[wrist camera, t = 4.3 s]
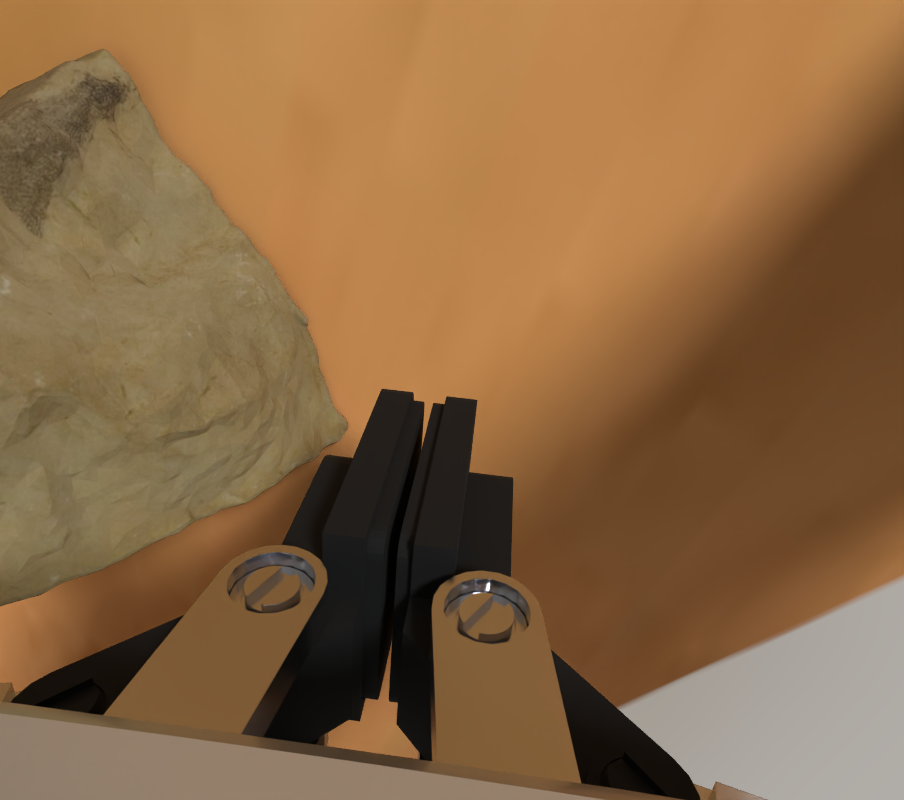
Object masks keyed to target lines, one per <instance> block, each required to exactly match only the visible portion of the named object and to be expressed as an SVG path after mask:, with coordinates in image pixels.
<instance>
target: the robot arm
mask: <svg viewBox="0 0 904 800" xmlns="http://www.w3.org/2000/svg"><path fill="white" fill-rule="evenodd" d="M476 407H477V400H473V399H465V398H456V397H448V396H447V397H446V401H445V404H438V403H433V407H432V411H431V414H430V418H429V422H428V426H427V430H426V434H425V438H424V442H423V446H422V433H423V419H424V402H421V401H414V394H413V392H405V391H397V390H388V389H382V390H381V392H380V394H379V396H378V399H377V401H376V404H375V406H374V409H373V411H372V413H371V416H370V418H369V421H368V423H367V426H366V428H365V430H364V433H363V435H362V438H361V440H360V443H359V445H358V447H357V450H356V452H355V455H354V457H353V458H348V457H340V456H332V455H327V456H325V457H324V459H323V460H322V462H321V464H320V467H319V469H318V471H317V473H316V475H315V477H314V479H313V481H312V483H311V485H310V487H309V489H308V491H307V493H306V496H305V498H304V500H303V502H302V504H301V506H300V508H299V510H298V512H297V514H296V516H295V518H294V520H293V522H292V524H291V527H290V529H289V531H288V533H287V535H286V537H285V539H284V541H283V543H282V545H271V546H262V547H259V548H255V549H252V550H248V551H246V552H244V553H242V554H241V555H239V556H237V557H235V558H233V559H232V560H231V561H230V562H229V563H228V564H227V565H226V566H224V567H223V568H222V569H221V571H220V572H219V573H218V574H217V576H216V577H215V578H214V579H213V581H212V582H211V583H210V584H209V585H208V587H207V588H206V589H205V590H204V592H203V593H202V594H201V595H200V597H199V598H198V599H197V600H196V601H195V603H194V604H193V605H192V606H191V608H190V609H189V610H188V611H187V612H186V614H185V615H183V616H181V617H179V618H176V619H174V620H172V621H169V622H167V623H165V624H162V625H160V626H158V627H155V628H153V629H151V630H149V631H146V632H144V633H142V634H139V635H137V636H135V637H132V638H130V639H128V640H125V641H123V642H121V643H118V644H116V645H114V646H111V647H109V648H107V649H105V650H102V651H100V652H98V653H95V654H93V655H91V656H88V657H86V658H84V659H81V660H79V661H77V662H74V663H72V664H70V665H67V666H65V667H63V668H60V669H58V670H56V671H54V672H51V673H49V674H48V675H46V676H44V677H42V678H40V679H38V680H37V681H35V682H33V683H31V684H30V685H29V686H28V687H26V688H25V689H24V690H23V691H19V692H15V691H14V688H13V685H12V682H11V683H0V800H767V799H764V798H761V797H758V796H755V795H752V794H750V793H747V792H744V791H741V790H738V789H735V788H733V787H730V786H727V785H724V784H721V783H719V782H716V783H715V785H714V787H713V790H710V789H707V788H704V787H702V786H698V785H696V784H693V782H692V780H691V779H690V777H689V775H688V774H687V773H686V772H685V771H684V770H683V769H682V768H681V766H680V765H679V764H678V763H677V762H676V761H675V760H674V759H673V758H672V757H671V756H670V755H669V754H668V753H667V752H665V751H664V750H663V749H662V748H661V747H660V746H659V745H658V744H656V743H655V742H654V741H653V740H652V739H651V738H650V737H648V736H647V735H646V734H645V733H644V732H643V731H642V730H641V729H640V728H638V727H637V726H636V725H635V724H634V723H633V722H632V721H631V720H629V719H628V718H627V717H626V716H625V715H624V714H623V713H622V712H621V711H619V710H618V709H617V708H616V707H615V706H614V705H613V704H612V703H610V702H609V701H608V700H607V699H606V698H605V697H604V696H603V695H601V694H600V693H599V692H598V691H597V690H596V689H595V688H594V687H592V686H591V685H590V684H589V683H588V682H587V681H586V680H585V679H583V678H582V677H581V676H580V675H579V674H578V673H577V672H576V671H574V670H573V669H572V668H571V667H570V666H569V665H568V664H567V663H566V662H564V661H563V660H562V659H561V658H560V657H559V656H558V655H557V654H555V653H554V652H553V651H552V650H551V648H550V644H549V639H548V635H547V631H546V626H545V622H544V617H543V613H542V609H541V607H540V605H539V603H538V600H537V598H536V597H535V596H534V595H533V593H532V592H531V591H530V590H529V589H528V588H527V587H526V586H524V585H523V584H521V583H520V582H518V581H517V580H515V579H514V578H511V543H512V505H513V478H511V477H503V476H495V475H487V474H479V473H471V472H469V469H470V460H471V451H472V442H473V434H474V425H475V416H476ZM421 447H422V450H421ZM391 641H392V653H391V670H390V688H389V701H390V702H398V710H397V725H398V726H399V728H400V729H401V730H402V731H403V733H404V734H405V735H406V736H407V738H408V739H409V740H410V741H411V743H412V744H413V745H414V746H415V748H416V749H417V750H418V759H412V758H405V757H398V756H391V755H384V754H377V753H370V752H363V751H356V750H349V749H342V748H335V747H328V746H327V743H328V732H329V731H331V730H333V729H334V728H336V727H337V726H339V725H341V724H342V723H344V722H346V721H347V720H355V721H360V719H361V715H362V711H363V706H364V702H365V698H369V699H376V700H378V698H379V695H380V691H381V686H382V682H383V677H384V673H385V668H386V664H387V659H388V655H389V650H390V646H391Z"/></svg>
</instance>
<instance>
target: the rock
mask: <svg viewBox="0 0 904 800" xmlns="http://www.w3.org/2000/svg"><path fill="white" fill-rule="evenodd" d="M307 325H308V319H307V317H306V316H305V315H304V313H303V312H302V311H301V310H300V309H299V308H298V307H297V306H296V305H295V303H294V302H293V301H292V299H291V298H290V296H289V295H288V293H287V292H286V290H285V289H284V287H283V285H282V283H281V281H280V280H279V278H278V277H277V275H276V272H275V270H274V268H273V267H272V266H271V264H270V263H269V261H268V260H267V259H266V258H265V257H263V256H261V255H260V254H259V252H258V251H257V250H256V248H255V247H254V245H253V244H252V242H251V241H250V239H249V238H248V237H247V236H246V235H245V234H244V232H243V231H242V230H241V229H239V228H238V227H236V226H234V225H233V224H231V222H230V221H229V219H228V218H227V216H226V215H225V213H224V212H223V211H222V209H221V208H220V207H219V206H218V205H217V204H216V203H215V201H214V198H213V195H212V192H211V190H210V189H209V188H208V187H207V186H206V185H205V184H204V183H203V182H202V181H201V179H200V178H199V177H198V176H197V174H196V173H195V172H194V171H193V170H192V169H191V168H190V167H189V166H188V165H186V164H185V163H183V162H182V161H181V160H179V159H178V158H177V157H176V156H175V155H174V154H173V152H172V151H171V150H170V149H169V148H168V147H167V146H166V144H165V143H164V142H163V141H162V139H161V137H160V135H159V133H158V130H157V128H156V126H155V123H154V121H153V119H152V116H151V114H150V113H149V111H148V110H147V108H146V106H145V105H144V103H143V102H142V100H141V97H140V94H139V92H138V89H137V86H136V85H135V84H134V82H133V80H132V79H131V77H130V75H129V73H127V72H125V70H124V69H123V68H122V67H121V66H120V64H119V63H118V62H117V61H116V59H115V58H114V57H113V56H112V55H111V54H110V53H109V51H106V50H104V49H102V50H97V51H95V52H92V53H90V54H87V55H85V56H83V57H81V58H79V59H77V60H74V61H67V62H64V63H62V64H60V65H59V66H57V67H55V68H53V69H51V70H49V71H48V72H46V73H44V74H43V75H42V76H40V77H38V78H36V79H34V80H31V81H28V82H25V83H23V84H21V85H19V86H17V87H15V88H13V89H11V90H9V91H8V92H7V93H6V94H5V95H3V96H2V97H1V98H0V606H3V605H6V604H9V603H13V602H16V601H20V600H24V599H27V598H31V597H35V596H39V595H41V594H43V593H45V592H47V591H48V590H50V589H52V588H54V587H55V586H57V585H59V584H60V583H63V582H66V581H68V580H71V579H74V578H78V577H82V576H85V575H88V574H91V573H94V572H97V571H100V570H102V569H104V568H106V567H108V566H110V565H111V564H114V563H116V562H118V561H121V560H123V559H125V558H127V557H128V556H130V555H132V554H134V553H136V552H137V551H139V550H141V549H143V548H144V547H146V546H148V545H150V544H152V543H154V542H157V541H159V540H161V539H163V538H165V537H167V536H171V535H174V534H177V533H178V532H180V531H181V530H183V529H184V528H186V527H187V526H189V525H190V524H191V523H193V522H194V521H196V520H198V519H201V518H205V517H208V516H210V515H213V514H215V513H216V512H218V511H220V510H222V509H225V508H229V507H233V506H237V505H242V504H245V503H247V502H249V501H250V500H252V499H254V498H255V497H257V496H258V495H260V494H261V493H262V492H264V491H265V490H267V489H268V488H270V487H272V486H274V485H275V484H277V483H278V482H279V481H280V480H281V479H283V478H284V477H285V476H286V475H287V474H288V473H290V472H291V471H292V470H293V469H295V468H296V467H298V466H300V465H302V464H305V463H307V462H309V461H313V460H315V459H316V458H317V457H318V456H319V454H320V452H321V450H322V449H323V448H325V447H327V446H328V445H330V444H332V443H336V442H338V441H339V440H340V439H341V438H342V436H343V435H344V433H345V432H346V430H347V429H348V423H347V421H346V419H345V418H344V417H343V416H342V415H341V414H340V413H339V412H338V411H337V410H336V409H335V407H334V406H333V404H332V400H331V397H330V394H329V391H328V388H327V385H326V382H325V379H324V376H323V374H322V373H321V371H320V368H319V365H318V364H319V359H318V354H317V349H316V347H315V345H314V343H313V340H312V338H311V336H310V334H309V331H308V329H307Z"/></svg>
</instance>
